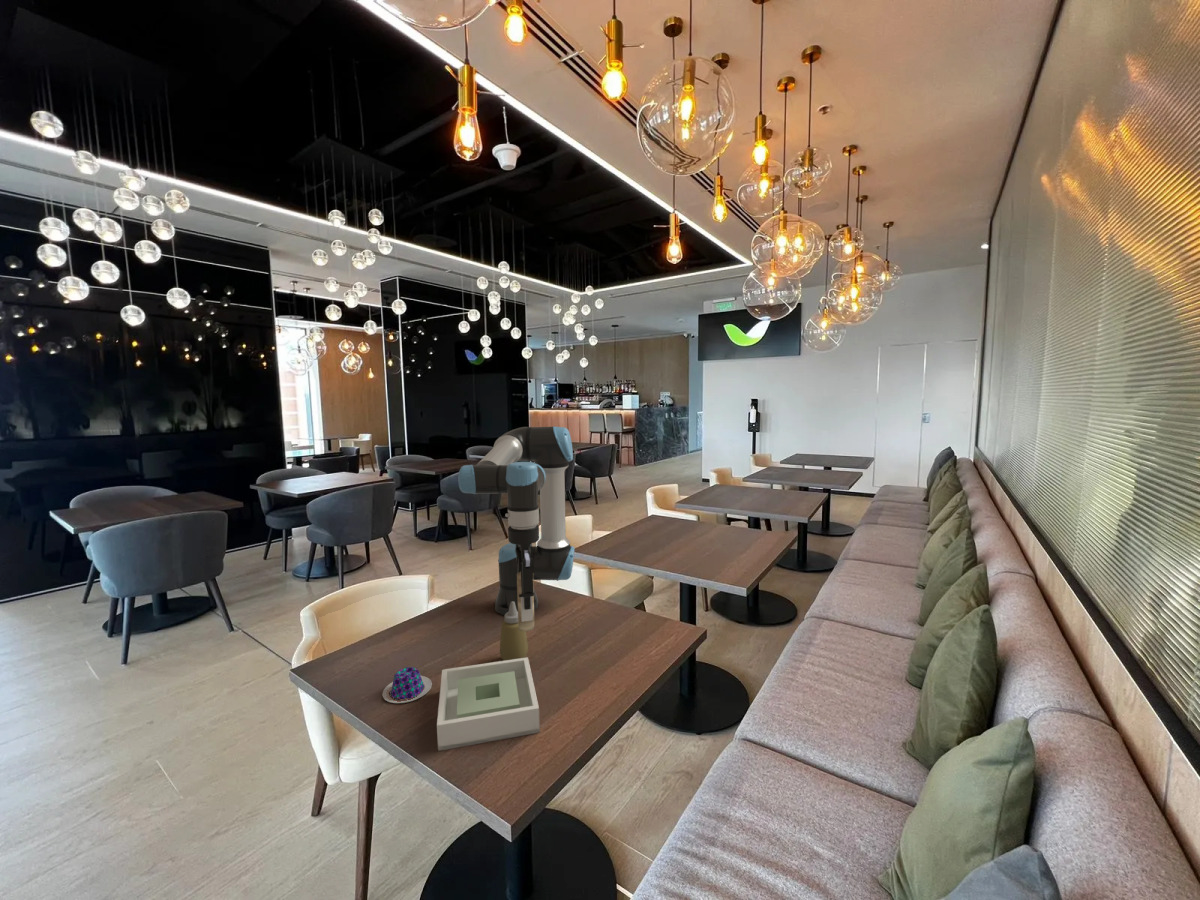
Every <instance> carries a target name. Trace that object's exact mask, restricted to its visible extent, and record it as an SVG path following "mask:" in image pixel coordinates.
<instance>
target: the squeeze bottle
mask: <svg viewBox="0 0 1200 900" xmlns="http://www.w3.org/2000/svg"><path fill="white" fill-rule="evenodd" d="M499 640H500V641H499V653H500V656H501V659H502V661H506V660H513V659H519V658H526V657H527V654H528V652H529V644H528V638H527V631H520V630H519V629H518V611H517V609H516V606H515V602H514V601H512V602H510V607H509V612H507V613H506V614H505V615H504V620H503V621H502V623H501V625H500V639H499Z"/></svg>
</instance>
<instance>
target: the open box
mask: <svg viewBox="0 0 1200 900" xmlns="http://www.w3.org/2000/svg"><path fill="white" fill-rule="evenodd" d="M512 671H514V672H515V679H516V685H517V691H518V698H519V704H520V708H517V709H511V710H505V711H499V712H493V713H487V714H481V715H475V716H469V717H464V718H458V719H457V698H458V680H459V679H466V678H473V677H479V676H486V675H492V674H499V673H506V672H512ZM440 678H441V679H440V689H439V690H440V691H439V702H438V708H437V719H436V733H437V734H436V735H437V738H436V739H437V750H438V751H437V752H440V751H446V750H451V749H453V750H454V749H457V748H462V747H463V748H464V747H469V746H474V745H479V744H484V743H485V744H486V743H490V742H495V741H501V740H507V739H510V738H516V737H517V738H518V737H522V736H527V735H529V736H530V735H534V734H539V733H540V731H541V730H540V728H541V727H540V707H539V706H540V705H539V702H538V698H537V694H536V693H537V692H536V688H535V683H534V680H533V675H532V670H531V666H530V660H529V657H527V656H526V658H519V659H513V660H506V661H503V660H498V661H493V662H485V663H480V664H478V663H477V664H472V665H466V666H458V667H452V668H445V669H441V677H440Z"/></svg>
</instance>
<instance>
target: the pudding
mask: <svg viewBox="0 0 1200 900" xmlns="http://www.w3.org/2000/svg"><path fill="white" fill-rule="evenodd" d="M432 685H433V683H432V680H431V679H430V678H429V677H427V676H424V675H421V673H420V671H419V669H418V668H416V667H413V666H412V667H410V666H409V667H404V668H400V669H399V670H397V672H396V673H395V674H394V676H393V680H392V682H390V683H388V685H386V686H385V688H384V689H383V691H382V697H383V699H384V700H385V701H387V702H388V703H393V704H405V703H409V702H413V701H416V700H418V699H421V698H422V697H424V696H425V695H426V694H427V693H428V692H429V691H430V690H431V688H432ZM390 687H392V689H391V692H390V694H391V693H392V694H391V697H394V698H396V699H397V700H398V699H405V698H407V699H405V700H407V701H401V702H397V701H393V700H389V699H388V698H387V697H386V696H387V695H386V692H387V690H389V688H390ZM416 696H417V697H416ZM397 697H398V698H397ZM413 697H415V698H413ZM394 698H393V699H394ZM409 698H410V699H411V698H413V699H411V700H408V699H409Z"/></svg>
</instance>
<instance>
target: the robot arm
mask: <svg viewBox="0 0 1200 900" xmlns="http://www.w3.org/2000/svg"><path fill="white" fill-rule="evenodd" d="M573 460H574V452H573V442H572V436H571V433H570V431H569V429H568V428H566V427H565V426H563V427H562V426H534V427H533V426H522V427H521V426H520V427H518V428H517V427H516V428H515V429H512V430H510V431H507V432H505V433H504V434H502V435H501V436H499V437H498V438H497V439H496V440H495V441H494V444H493V448H492V449H491V450H490V451H489V452H488V453H487V454H485V455H484V457H483V458H482V459H481V460H480V461H479V462H478V463H476V464H466V465H462V466H461V467H460V469H459V471H458V474H457V475H458V477H457V479H458V480H457V481H458V489H459V490H460V492H461V493H463V494H473V495H480V494H481V495H484V494H485V495H488V494H492V495H493V494H494V495H495V494H503V495H505V494H506V502H507V503H506V504H507V513H505V514H504V515H505V516H504V517H505V518H507V524H508V528H507V537H508V538H507V539H508V542H509V543H506V544H504V545H502V546H501V547H500V548H499V551H498V559H497V561H498V581H499V587H498V592H497V596H496V599H495V602H494V603H495V604H494V607H495V612H496V613H498V614H500V615H501V616H505V614H506V613H507V612H509V607H510V602H512V601H514V602H515V606H516V609H517V611H518V596H517V573H519V572H521V589H522V593H521V594H519V597H521V619H522V622H524V621H531V620H533V604H532V596H534V612H535V611H536V610H537V609H538V607H539V600H538V596H537V593H536V590H535V588H534V581H567V580H569V579H570V578H571V576H572V573H573V567H574V559H575V548H576V547H574V546H573V545H571V540H570V539H569V538H568V537H567V533H566V532H567V531H566V528H567V527H566V489H565V487H566V486H565V485H566V483H565V479H566V478H565V470H566V469H568V467H569V466H570V465H569V464H570V462H571V461H573ZM539 500H540V502H539ZM539 503H540V505H539ZM539 506H540V508H539ZM539 509H540V510H539ZM539 524H540V527H539ZM540 534H541V535H540ZM535 543H536V546H533V544H535ZM533 588H534V592H533Z"/></svg>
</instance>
